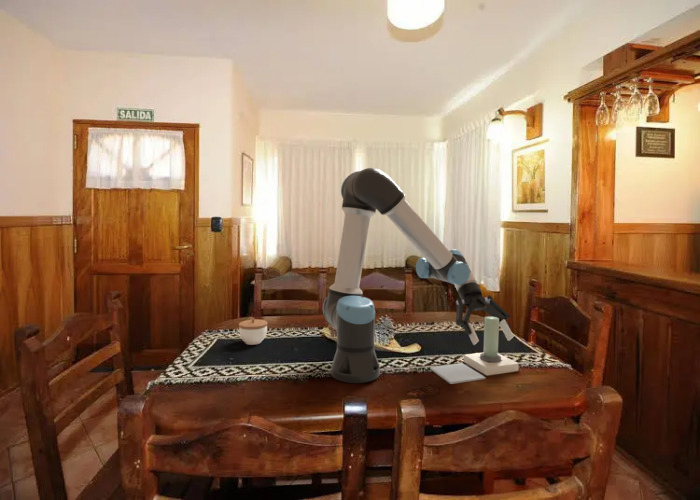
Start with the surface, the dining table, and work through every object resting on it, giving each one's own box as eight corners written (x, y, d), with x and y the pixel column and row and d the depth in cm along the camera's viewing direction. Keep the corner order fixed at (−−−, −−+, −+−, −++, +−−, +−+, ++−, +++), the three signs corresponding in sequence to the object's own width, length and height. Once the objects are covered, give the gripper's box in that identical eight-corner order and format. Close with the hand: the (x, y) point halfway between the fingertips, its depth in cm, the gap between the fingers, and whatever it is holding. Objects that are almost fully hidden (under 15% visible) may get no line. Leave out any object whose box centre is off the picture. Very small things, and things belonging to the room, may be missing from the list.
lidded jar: (271, 338, 156) (270, 315, 155) (262, 347, 145) (261, 322, 144) (245, 337, 157) (244, 315, 156) (234, 346, 146) (234, 322, 145)
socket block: (486, 375, 119) (486, 367, 119) (463, 362, 131) (463, 354, 130) (518, 371, 123) (518, 363, 123) (493, 358, 134) (493, 351, 134)
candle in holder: (488, 370, 123) (489, 321, 122) (475, 363, 129) (477, 316, 128) (504, 368, 125) (506, 319, 124) (491, 361, 131) (493, 315, 130)
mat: (450, 384, 113) (450, 382, 113) (430, 369, 124) (430, 367, 124) (485, 379, 117) (485, 377, 117) (462, 364, 128) (462, 363, 128)
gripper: (491, 291, 145) (518, 342, 133) (432, 295, 137) (455, 350, 125) (501, 279, 140) (531, 331, 127) (440, 283, 132) (466, 339, 119)
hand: (493, 340), depth 126 cm, fingers open, 13 cm apart
